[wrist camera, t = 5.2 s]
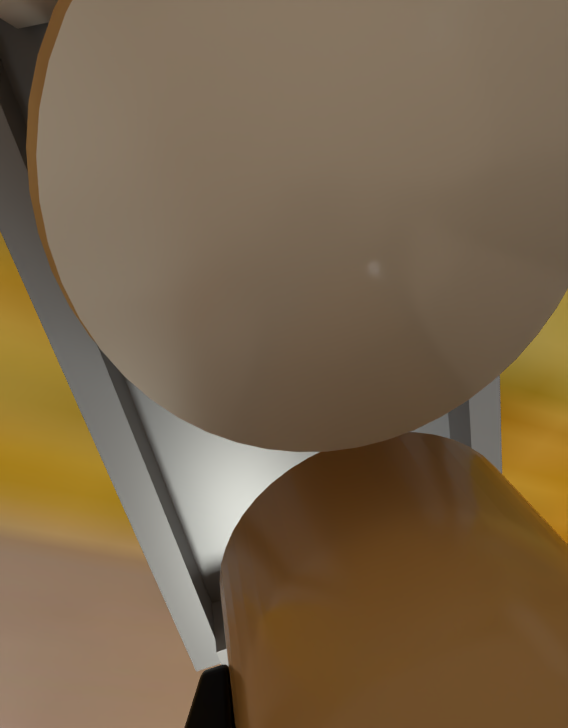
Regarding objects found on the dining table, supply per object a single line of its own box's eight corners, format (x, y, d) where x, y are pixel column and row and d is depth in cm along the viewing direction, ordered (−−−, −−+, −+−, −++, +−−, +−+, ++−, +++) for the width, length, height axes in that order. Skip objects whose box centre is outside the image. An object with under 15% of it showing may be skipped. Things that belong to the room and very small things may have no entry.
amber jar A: (359, -42, 10) (663, -290, 4) (396, 255, 12) (612, 385, 6) (51, 26, 9) (-152, -136, 3) (155, 322, 12) (145, 529, 6)
